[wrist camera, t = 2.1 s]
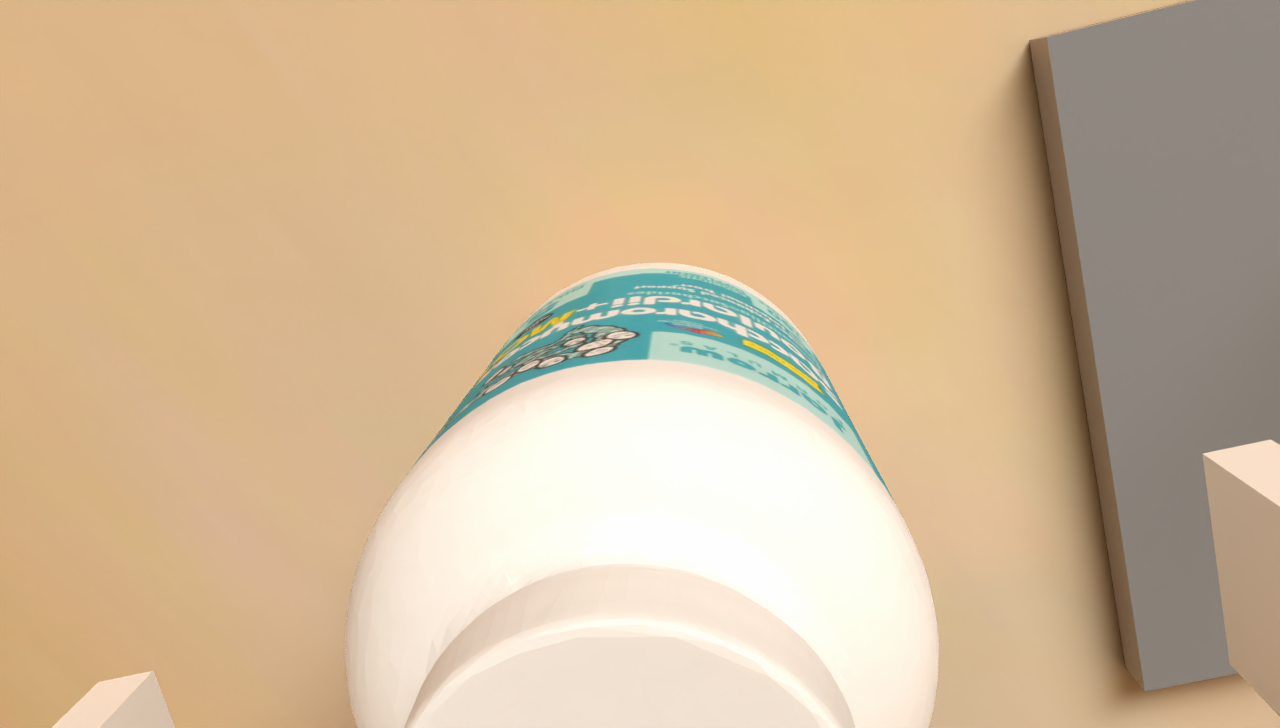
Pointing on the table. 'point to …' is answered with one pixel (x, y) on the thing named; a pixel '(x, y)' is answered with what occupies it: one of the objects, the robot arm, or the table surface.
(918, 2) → the table surface
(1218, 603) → the grey peg board
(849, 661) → the pill bottle
